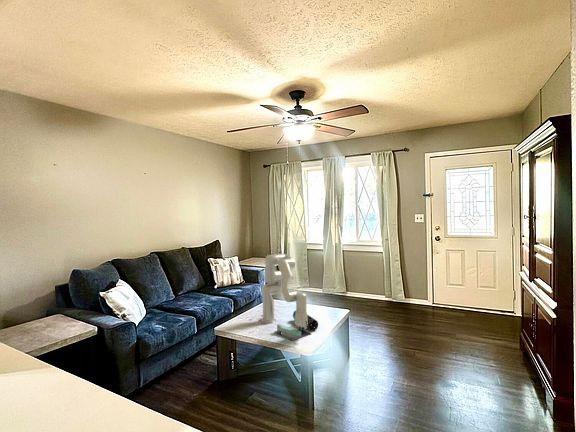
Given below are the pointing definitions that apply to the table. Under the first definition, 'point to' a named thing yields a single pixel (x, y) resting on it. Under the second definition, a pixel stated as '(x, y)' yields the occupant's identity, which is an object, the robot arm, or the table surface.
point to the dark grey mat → (291, 336)
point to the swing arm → (288, 330)
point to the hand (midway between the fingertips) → (301, 334)
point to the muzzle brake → (310, 322)
